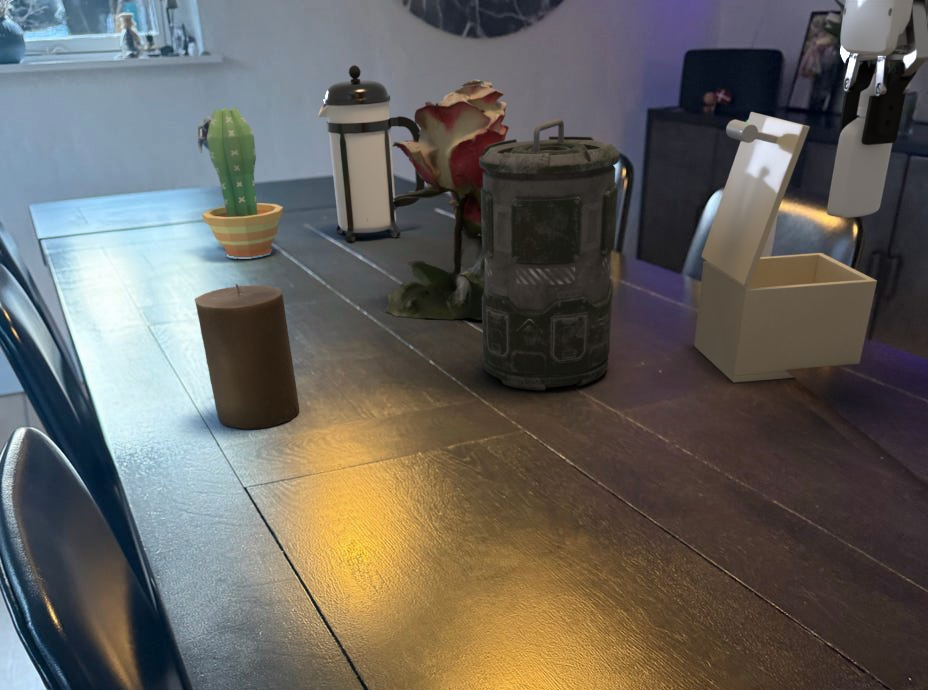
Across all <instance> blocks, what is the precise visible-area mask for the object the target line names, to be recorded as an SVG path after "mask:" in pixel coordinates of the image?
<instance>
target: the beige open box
mask: <svg viewBox="0 0 928 690" xmlns="http://www.w3.org/2000/svg"><path fill="white" fill-rule="evenodd" d="M701 270H702V272H701V278H700V279H701V280H700V290H699V299H698V307H697V316H696V327H695V334H694V335H695V336H694V344H693V345H694V348H696V349H697V351H698V352H700V353H701V354H702V355H703V356H704V357H705V358H706V359H707V360H708V361H710V362H711V363H712V364H713V365H714V366H715V368H717V369H718V370H719V371H720V372H722V374H723V375H725V376H726V377H727V378H728V379H729V380H730V381H731V382H732V383H744V382H745V383H746V382H757V381H759V382H760V381H770V380H772V381H773V380H782V379H794V378H795V376H793V375H792V374H791V373H790V372H788V371H787V370H799V369H811V368H823V367H835V366H836V367H837V366H848V365H859V364H860V363H861V358H862V353H863V349H864V344H865V339H866V334H867V330H868V325H869V321H870V316H871V311H872V307H873V302H874V297H875V292H876V288H877V284H878V283H877V282H878V280H876V279H875V278H873V277H870V276H869V275H866V273H865V274H864V273H862V272H861V271H859V270H856V269H854V268H853V267H851V266H849V265H847V264H845V263H843V262H840V261H839V260H836V259H835V258H832V257H831V256H829V255H827V254H825V253H823V252H814V253H800V254H787V255H773V256H772V255H771V257H760V260H759V263H758V265H757V268H756V271H755V273H754V276H753V279H752V281H751V284H750V286H749V287H748V286H744V285H742V284H741V283H739V282H738V281H736V280H735V279H733V278H732V277H730V276H729V275H727V274H726V273H724V272H723V271H721V270H720V269H718V268H717V267H715V266H714V265H712V264H711V263H709V262H708V261H707V260H704V261H703V263H702V269H701Z"/></svg>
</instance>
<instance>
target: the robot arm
mask: <svg viewBox="0 0 928 690" xmlns="http://www.w3.org/2000/svg"><path fill="white" fill-rule="evenodd" d="M839 38H840V39H839V40H840V51H839V53H840V54H839V55H840V57H841V59H842V61H843V63H844V64H843V68H844V71H845V76H844V80H843V90H844V95H843V102H842V107H841V113H840V120H839V126H838V132H837V137H838V138H839V137H840V134H841V132H842V130H843V129H844V128H845V127H846V126H847V125H848V124H849V123H851V122H852V121H854V120H855V119H856V118H857V117H860V116H858V115H857V111H858V105H859V100H860V94H861V92H862V91H863V90H865V89H867V88H868V87H869V86H870V84H871V81H872V78H873V75H874V74H876V85H875V95H874V96H869V102H868V108H867V113H866V119H865V125H864V130H863V136H862V143H863V144H865V145H875V144H887V143H892V144H893V143H895V142H896V141H898V135H899V130H900V125H901V121H902V120H901V119H902V114H903V110H904V104H905V99H906V95H907V94H909V92H910V90H911V87H912V86H911V85H912V80H913V79H914V77H915V76H916V74H917V72H918V70H919V69H921V67H923V66H924V65H925V63H926V62H927V61H928V0H845V1H844V7H843V13H842V21H841V29H840V37H839ZM894 52H895V53H894ZM896 52H898V53H896ZM868 61H870V63H869V62H868ZM891 64H894V65H893V66H892V67H891V69H890V66H891Z"/></svg>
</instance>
